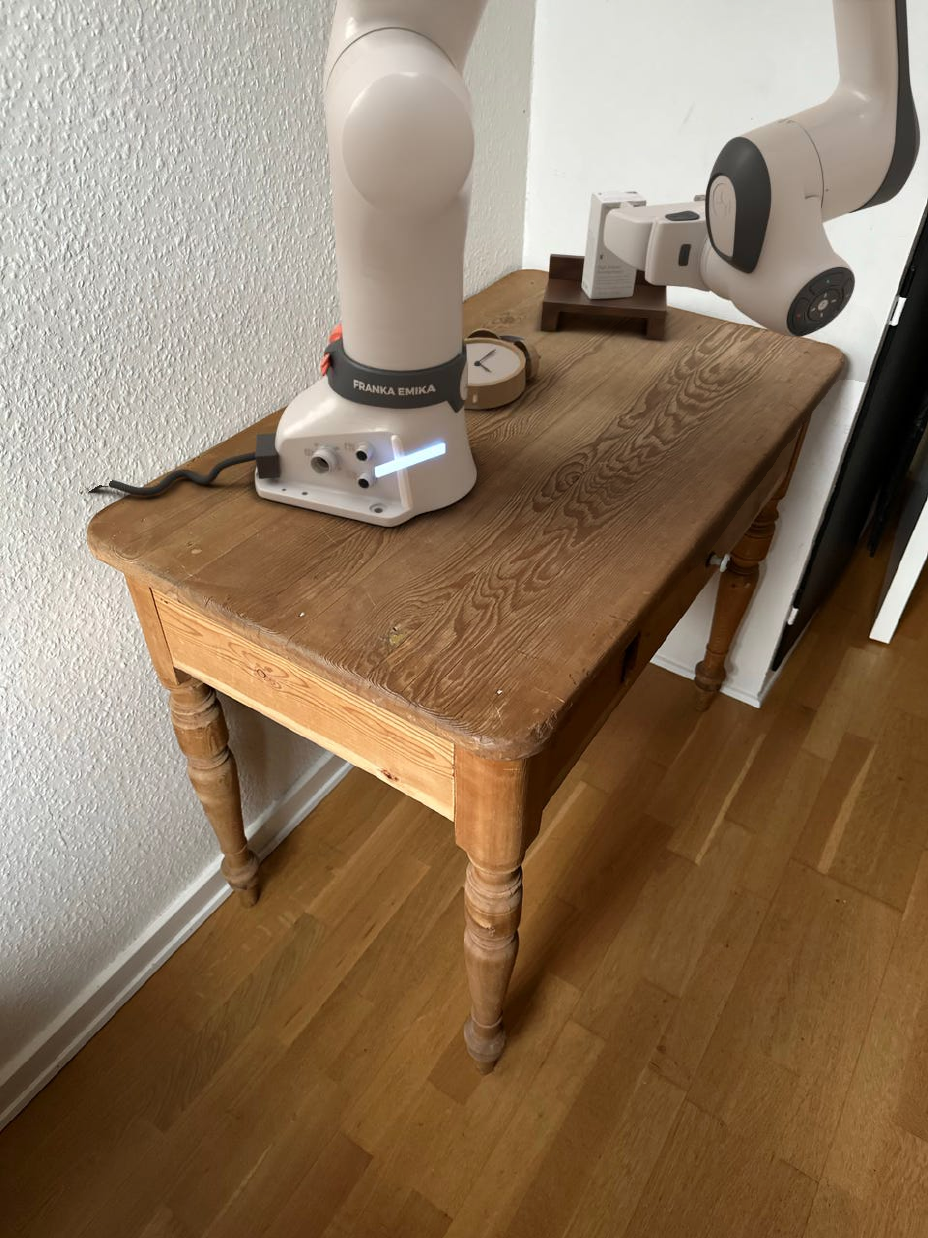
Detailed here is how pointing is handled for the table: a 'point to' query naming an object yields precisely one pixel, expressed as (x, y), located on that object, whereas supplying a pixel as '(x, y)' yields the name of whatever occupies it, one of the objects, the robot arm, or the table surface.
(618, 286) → the cosmetic box
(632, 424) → the table surface
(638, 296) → the brown wooden bench
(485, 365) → the alarm clock
